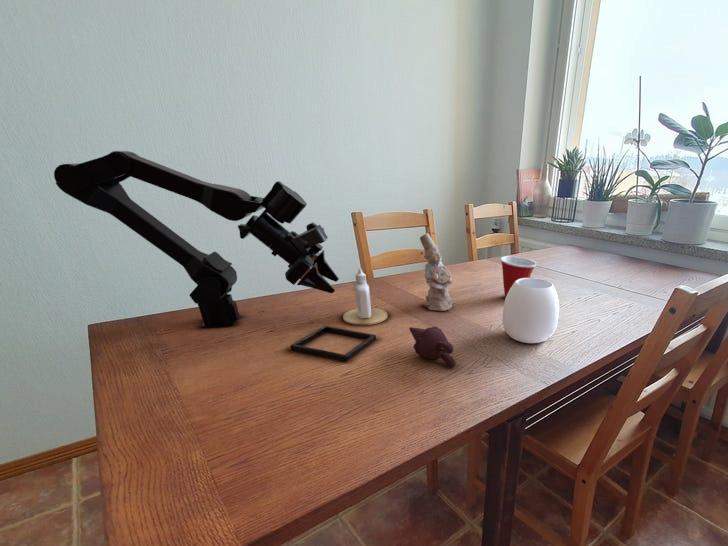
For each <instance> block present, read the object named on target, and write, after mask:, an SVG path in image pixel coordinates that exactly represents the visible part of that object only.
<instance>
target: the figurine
mask: <svg viewBox="0 0 728 546" xmlns="http://www.w3.org/2000/svg"><path fill="white" fill-rule="evenodd" d="M419 240H420V243H421V245H422V247H423V249H424V255H423V258H424V259H425V260H427V263H426V264H425V266H424V278H425V283H426V284H427V285H428V286H429V289H428V290H427V292H428V293H427V295H425V300H424V302H422V306H424V307H426V308H427V309H428V310H430V311H437V312H438V311H439V312H445V311H447V310H448V311H449V310H450V309H451V308H452V307H453V300H452V299H451V293H450V291H449V290H448V287H449V286H450V285H451V284H453V279H452V274H451V272H450V270H449V269H448V267H447V266H445V265H444V263H443V262H442V260H443V259H442V258H443V254H441V253H440V248H439V247H438V246H437V245H436V243H435V242H434V240H433V239H432V237H431V235H430V234H429V233H428V232H427V233H425V234H423V235H421V236H420V237H419Z"/></svg>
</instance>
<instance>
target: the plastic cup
mask: <svg viewBox="0 0 728 546" xmlns="http://www.w3.org/2000/svg"><path fill="white" fill-rule="evenodd" d="M500 262H501V270H502V281H503V290H504V292H503V293H504V298H505V299H506V296H507V294H508V292H509V290H510V288H511V287H512V285H513V284H514V282H515V281H516V280H518V279H521V278H531V277H532V276H531V275H532V273H533V271H534V269H535V267H537V263H538V262H536V261H534V260H532V259H528V258H526V257H521V256H513V255H505V256H501V257H500Z"/></svg>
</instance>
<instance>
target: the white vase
mask: <svg viewBox="0 0 728 546" xmlns="http://www.w3.org/2000/svg"><path fill="white" fill-rule="evenodd" d="M559 313H560V301H559V296H558V293H557V289H556V287H555V285H554V284H553V282H551V281H549V280H547V279H543V278H539V277H538V278H537V277H530V278H521V279H518V280H516V281H515V282H514V284H513V285H512V287H511V288H510V290H509V292H508V294H507V296H506V298H505V299H504V304H503V309H502V318H501V320H502V321H501V322H502V327H503V329H504V331H505V332H506V334H507V335H508V336H509V337H510V338H511V339H512V340H515V341H517V342H520V343H526V344H539V343H543V342H545V341H547V339H549V338H550V337H551V336H553V334H554V333H555V331H556V330H557V328H558V323H559V315H560V314H559Z"/></svg>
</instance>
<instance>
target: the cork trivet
mask: <svg viewBox="0 0 728 546" xmlns="http://www.w3.org/2000/svg"><path fill="white" fill-rule="evenodd" d="M387 319H388V313H387V312H386V310H384V309H382V308H377V307H371V317H370V318H364V319H361V318H359V316H358V313H357V308H354V309H353V308H352V309H350V310H348V311H346V312H344V313H343V315H342V320H343V321H344V322H345V323H347V324H350V325H354V326H371V325H376V324H380V323H382V322H385V320H387Z"/></svg>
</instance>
